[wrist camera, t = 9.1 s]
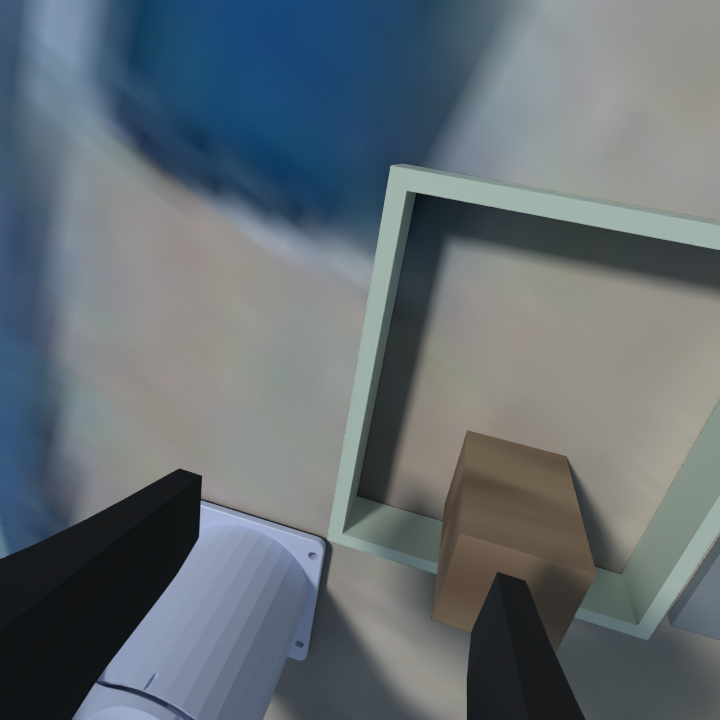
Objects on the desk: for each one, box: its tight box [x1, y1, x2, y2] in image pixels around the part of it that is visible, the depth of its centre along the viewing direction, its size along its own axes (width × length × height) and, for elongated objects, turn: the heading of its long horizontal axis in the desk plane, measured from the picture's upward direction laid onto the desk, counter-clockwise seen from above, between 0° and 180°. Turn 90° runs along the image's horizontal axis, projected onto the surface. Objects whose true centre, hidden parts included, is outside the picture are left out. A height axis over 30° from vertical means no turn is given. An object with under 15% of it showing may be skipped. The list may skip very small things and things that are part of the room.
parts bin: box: [327, 164, 720, 640], centre depth 17 cm, size 15×13×2 cm
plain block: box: [431, 430, 597, 652], centre depth 18 cm, size 4×4×6 cm
